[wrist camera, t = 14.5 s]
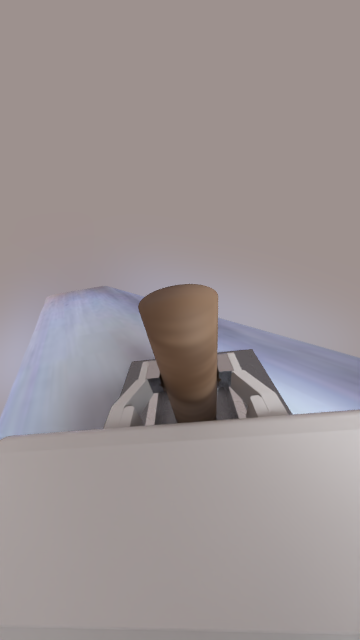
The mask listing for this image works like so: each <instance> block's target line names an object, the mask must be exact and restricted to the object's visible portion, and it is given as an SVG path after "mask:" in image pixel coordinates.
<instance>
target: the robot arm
mask: <svg viewBox="0 0 360 640" xmlns="http://www.w3.org/2000/svg"><path fill="white" fill-rule="evenodd" d="M217 383H218V386H219V387H231V388H232V389H233V390H234V392H235V393H236V394H237V395H238V396H239V397H240V398H241V399H242V400H243V401H244V402H245V403H246V404H247V405H248V409H247V413H246V418H241V419H228V420H214V421H201V422H187V423H174V424H161V425H147V426H144V422H143V421H142V419H141V418H140V415H141V413H142V412H143V410H144V408H145V407H146V405H147V404H148V402H149V401H150V399H151V397H152V396H153V393H162V392H164V391H165V386H164V383H163V380H162V377H161V374H160V371H159V368H158V365H157V362H156V361H146V362H143V363H142V367H141V371H140V375H139V378H138V380H136V381H135V382H134V383H133V384H132V385H131V386H130V387H129V389H128V390H127V391H126V392H125V393H124V394H123V395H122V396H121V397H120V398H119V399H118V400H117V401H116V403H115V404H114V405H113V406H112V407H111V410H110V412H109V415H108V417H107V420H106V423H105V425H104V428H103V429H94V430H81V431H68V432H54V433H41V434H27V435H13V436H8V437H5V438H3V439H1V440H0V640H360V410H348V411H334V412H321V413H308V414H294V415H289V414H288V413H287V411H286V409H285V408H284V406H283V404H282V403H281V401H280V399H279V398H278V396H277V394H276V393H275V392H274V391H272V390H271V389H269V388H268V387H267V386H265V385H264V384H263V383H261V382H260V381H259V380H257V379H256V378H254V377H253V376H252V375H250V374H249V373H248V372H246V371H245V370H242V369H241V367H240V365H239V363H238V360H237V358H236V356H235V354H234V353H233V352H231V353H222V354H217Z"/></svg>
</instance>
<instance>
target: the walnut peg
mask: <svg viewBox="0 0 360 640" xmlns="http://www.w3.org/2000/svg"><path fill="white" fill-rule="evenodd" d="M138 308H139V312H140V315H141V318H142V321H143V324H144V327H145V329H146V332H147V335H148V338H149V341H150V344H151V347H152V350H153V353H154V356H155V359H156V362H157V365H158V368H159V371H160V374H161V377H162V380H163V383H164V386H165V389H166V392H167V395H168V398H169V401H170V403H171V406H172V409H173V412H174V415H175V418H176V421H177V423H187V422H201V421H214V420H216V415H217V341H218V294H217V292H216V291H215V290H213V289H212V288H210V287H207V286H203V285H197V284H184V285H175V286H170V287H166V288H162V289H159V290H157V291H154V292H152V293H150V294H149V295H147V296H146V297H144V298H143V299H142V300H141V301H140V303H139V306H138Z"/></svg>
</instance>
